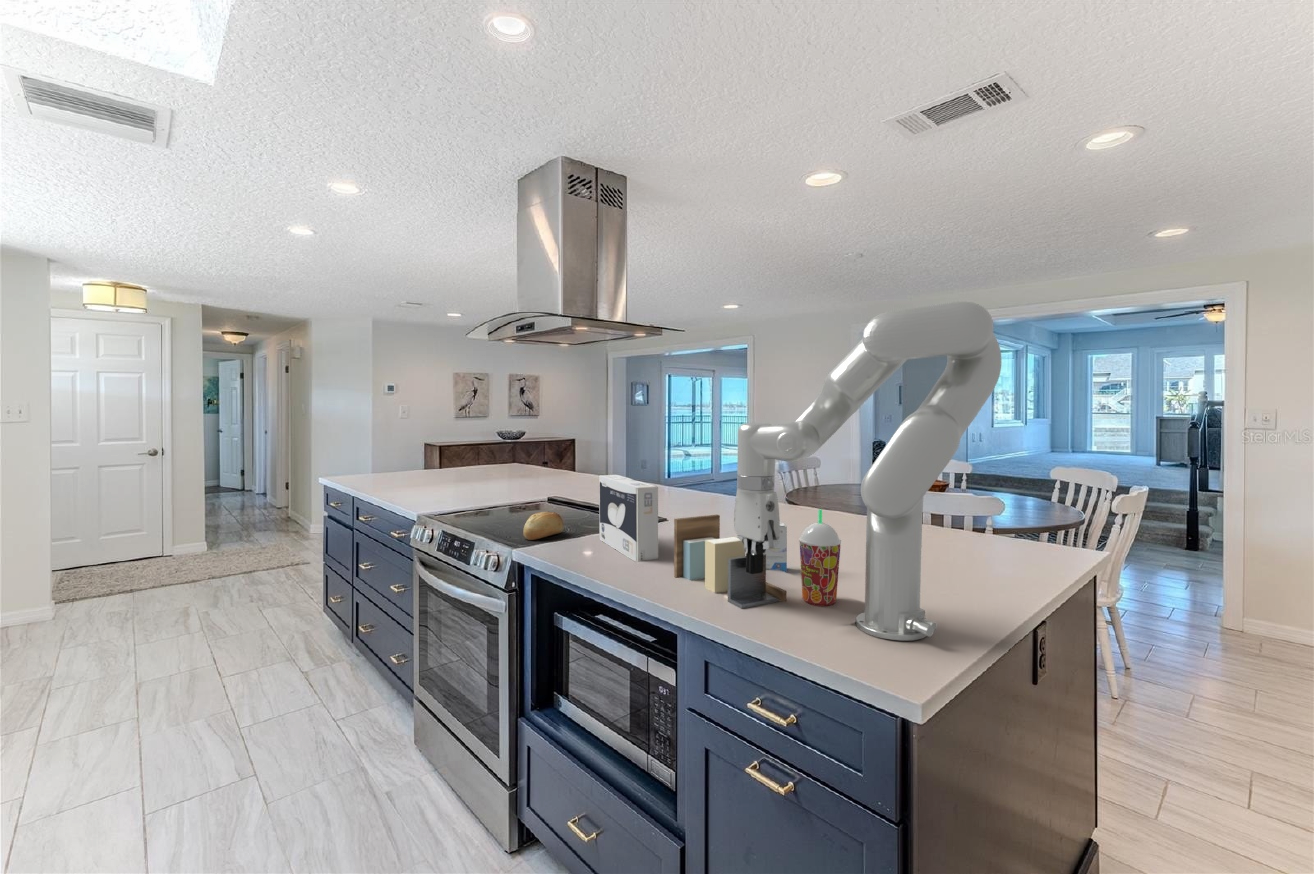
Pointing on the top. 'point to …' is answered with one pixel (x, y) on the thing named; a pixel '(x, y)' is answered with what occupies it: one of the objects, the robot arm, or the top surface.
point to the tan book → (720, 561)
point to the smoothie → (819, 563)
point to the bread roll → (543, 525)
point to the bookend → (747, 585)
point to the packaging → (629, 516)
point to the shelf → (704, 529)
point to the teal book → (694, 558)
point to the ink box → (778, 552)
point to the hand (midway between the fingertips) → (754, 572)
